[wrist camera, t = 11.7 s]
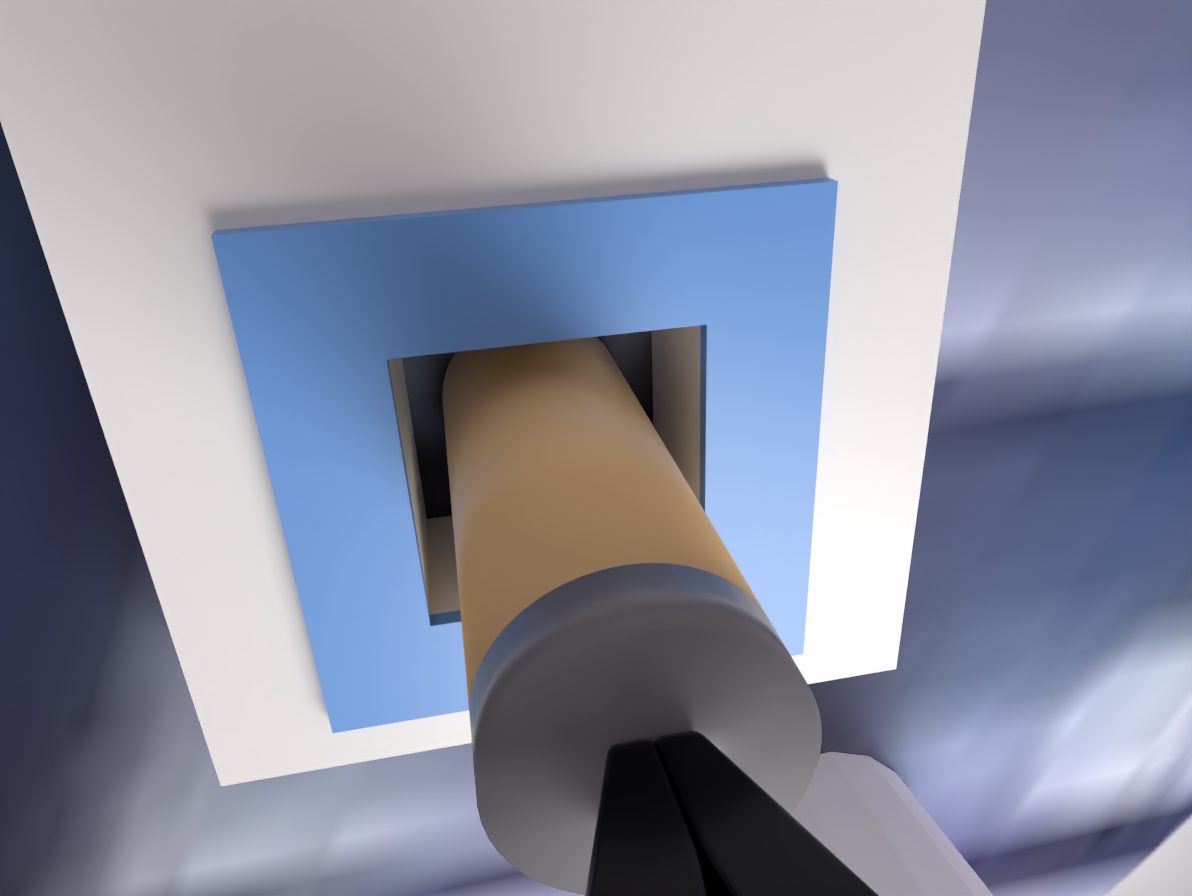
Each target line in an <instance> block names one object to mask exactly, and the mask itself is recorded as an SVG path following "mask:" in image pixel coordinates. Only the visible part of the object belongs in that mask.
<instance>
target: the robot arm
mask: <svg viewBox="0 0 1192 896" xmlns="http://www.w3.org/2000/svg"><path fill="white" fill-rule="evenodd" d="M585 896H879V895H878V894H877V893H876V892H874V891H873V890H872V889H871V888H870V887H869V886H868V885H867V884H866V883H865V882H864V881H862V880H861V879H860V878H859V877H858V876H857V875H856V874H855V873H854V872H853V871H852V870H850V869H849V868H848V867H847V866H846V865H845V864H844V863H843V862H842V861H841V860H840V859H838V858H837V857H836V856H835V855H834V854H833V853H832V852H831V851H830V850H829V849H828V848H826V847H825V846H824V845H823V844H822V843H821V842H820V841H819V840H818V839H817V838H816V837H814V836H813V835H812V834H811V833H810V832H809V831H808V830H807V829H806V828H805V827H803V826H802V825H801V824H800V823H799V822H798V821H797V820H796V819H795V818H794V817H793V816H791V815H790V814H789V813H788V812H787V811H786V810H785V809H784V808H783V807H782V806H781V805H779V804H778V803H777V802H776V801H775V800H774V799H773V798H772V797H771V796H770V795H769V794H767V793H766V792H765V791H764V790H763V789H762V788H761V787H760V786H759V785H758V784H757V783H755V782H754V781H753V780H752V779H751V778H750V777H749V776H748V775H747V774H746V773H745V772H743V771H742V770H741V769H740V768H739V767H738V766H737V765H736V764H735V763H734V762H733V761H731V760H730V759H729V758H728V757H727V756H726V755H725V754H724V753H723V752H722V751H721V750H719V749H718V748H717V747H716V746H715V745H714V744H713V743H712V742H711V741H710V740H709V739H707V738H706V737H705V736H704V735H703V734H701V733H699V732H697V731H689V732H683V733H678V734H672V735H666V736H661V737H659V738H658V739H657V740H656V741H655V743H653V742H652V741H651V740H648V739H644V740H638V741H632V742H627V743H621V744H616V745H613V746H611V747H610V748H609V750H608V753H607V758H606V764H605V771H604V777H603V784H602V790H601V797H600V803H599V810H598V816H597V823H596V829H595V835H594V842H593V848H592V855H591V861H590V868H589V874H588V881H587V887H586V893H585Z"/></svg>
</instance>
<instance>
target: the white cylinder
mask: <svg viewBox="0 0 1192 896" xmlns="http://www.w3.org/2000/svg"><path fill="white" fill-rule="evenodd" d="M790 815H791V816H793V817H794V818H795V819H796V820H797V821H798V822H799V823H800V824H801V825H802V826H803V827H805V828H806V829H807V830H808V831H809V832H810V833H811V834H812V835H813V836H814V837H816V838H817V839H818V840H819V841H820V842H821V843H822V844H823V845H824V846H825V847H826V848H828V849H829V850H830V851H831V852H832V853H833V854H834V855H835V856H836V857H837V858H838V859H840V860H841V861H842V862H843V863H844V864H845V865H846V866H847V867H848V868H849V869H850V870H852V871H853V872H854V873H855V874H856V875H857V876H858V877H859V878H860V879H861V880H862V881H864V882H865V883H866V884H867V885H868V886H869V887H870V888H871V889H872V890H873V891H874V892H876V893H877V894H878V895H879V896H993V895H992V893H991V892H990V891H989V890H988V888H987V887H986V886H985V884H984V883H983V882H982V881H981V879H980V878H979V877H978V876H977V874H976V873H975V872H974V871H973V869H972V868H971V867H970V866H969V864H968V863H967V862H966V860H965V859H964V858H963V857H962V855H961V854H960V853H959V852H958V850H957V849H956V848H955V847H954V845H953V844H952V843H951V842H950V840H949V839H948V838H947V837H946V835H945V834H944V833H943V831H942V830H941V829H940V828H939V826H938V825H937V824H936V823H935V821H934V820H933V819H932V818H931V816H930V815H929V814H928V813H927V811H926V810H925V809H924V807H923V806H922V805H921V804H920V802H919V801H918V800H917V799H916V797H915V796H914V795H913V794H912V792H911V791H910V790H909V789H908V787H907V786H906V785H905V784H904V782H903V781H902V780H901V778H900V777H899V776H898V775H897V773H896V772H894V771H893V770H891V769H889V768H888V767H886V766H884V765H883V764H881V763H880V762H878V761H876V760H875V759H873V758H871V757H870V756H865V755H856V754H848V753H839V752H826V753H822V754H820V756H819V760H818V763H817V766H816V769H815V773H814V776H813V778H812V780H811V782H810V784H809V786H808V788H807V790H806V792H805V794H804V795H803V797H802V798H801V800H800V801H799V803H798V804H797V806H796V807H795V809H794V810H793V811H792V812H791V814H790Z"/></svg>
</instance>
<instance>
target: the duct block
mask: <svg viewBox="0 0 1192 896" xmlns="http://www.w3.org/2000/svg"><path fill="white" fill-rule="evenodd" d="M985 4H986V0H0V122H1V125H2V128H3V131H4V134H5V137H6V140H7V143H8V146H9V149H10V152H11V155H12V158H13V161H14V164H15V167H16V170H17V173H18V176H19V179H20V182H21V185H22V188H23V191H24V194H25V197H26V200H27V203H28V206H29V209H30V212H31V215H32V218H33V221H34V224H35V227H36V230H37V233H38V236H39V239H40V243H41V246H42V249H43V252H44V255H45V258H46V261H47V264H48V267H49V270H50V273H51V276H52V279H53V282H54V285H55V288H56V291H57V294H58V297H59V300H60V303H61V306H62V309H63V312H64V315H65V318H66V321H67V324H68V327H69V330H70V333H71V336H72V339H73V342H74V345H75V348H76V351H77V354H78V357H79V360H80V363H81V366H82V369H83V372H84V375H85V378H86V381H87V384H88V387H89V390H90V393H91V396H92V399H93V402H94V405H95V408H96V411H97V414H98V417H99V420H100V423H101V426H102V429H103V432H104V435H105V438H106V441H107V444H108V447H109V450H110V453H111V456H112V459H113V462H114V465H115V468H116V471H117V474H118V477H119V480H120V483H121V486H122V489H123V492H124V495H125V498H126V501H127V504H128V507H129V510H130V513H131V516H132V519H133V522H134V526H135V529H136V532H137V535H138V538H139V541H140V544H141V547H142V550H143V553H144V556H145V559H146V562H147V565H148V568H149V571H150V574H151V577H152V580H153V583H154V586H155V589H156V592H157V595H158V598H159V601H160V604H161V607H162V610H163V613H164V616H165V619H166V622H167V625H168V628H169V631H170V634H171V637H172V640H173V643H174V646H175V649H176V652H177V655H178V658H179V661H180V664H181V667H182V670H183V673H184V676H185V679H186V682H187V685H188V688H189V691H190V694H191V697H192V700H193V703H194V706H195V709H196V712H197V715H198V718H199V721H200V724H201V727H202V730H203V733H204V736H205V739H206V742H207V745H208V748H209V751H210V754H211V757H212V760H213V763H214V766H215V769H216V772H217V775H218V778H219V781H220V784H221V786H226V785H232V784H237V783H243V782H249V781H255V780H260V779H266V778H272V777H278V776H283V775H289V774H295V773H301V772H306V771H312V770H318V769H324V768H329V767H335V766H341V765H347V764H352V763H358V762H364V761H370V760H375V759H381V758H387V757H393V756H398V755H404V754H410V753H416V752H421V751H427V750H433V749H439V748H444V747H450V746H456V745H462V744H467V743H472V739H471V727H470V716H469V704H468V693H467V681H466V669H465V658H464V646H463V635H462V623H461V611H460V600H459V588H458V577H457V565H456V553H455V542H454V530H453V519H452V516H444V517H437V518H430V519H427V515H426V509H425V503H424V496H423V490H422V483H421V477H420V471H419V464H418V458H417V452H416V445H415V439H414V432H413V426H412V420H411V413H410V407H409V400H408V394H407V388H406V381H405V375H404V369H403V362H402V358H405V357H414V356H423V355H432V354H442V353H451V352H460V351H469V350H478V349H487V348H497V347H506V346H515V345H524V344H533V343H542V342H552V341H561V340H570V339H579V338H588V337H597V336H606V335H616V334H625V333H634V332H643V331H651V335H652V383H653V426H654V428H655V430H656V431H657V433H658V435H659V436H660V438H661V440H662V441H663V443H664V445H665V446H666V448H667V450H668V451H669V453H670V455H671V456H672V458H673V460H674V461H675V463H676V465H677V466H678V468H679V470H680V471H681V473H682V475H683V476H684V478H685V480H686V481H687V483H688V485H689V486H690V488H691V490H692V491H693V493H694V495H695V496H696V498H697V500H698V501H699V503H700V505H701V506H702V508H703V510H704V511H705V513H706V515H707V516H708V518H709V520H710V521H711V523H712V525H713V526H714V528H715V530H716V532H717V533H718V535H719V537H720V538H721V540H722V542H723V543H724V545H725V547H726V548H727V550H728V552H729V553H730V555H731V557H732V558H733V560H734V562H735V563H736V565H737V567H738V568H739V570H740V572H741V573H742V575H743V577H744V578H745V580H746V582H747V583H748V585H749V587H750V588H751V590H752V592H753V593H754V595H755V597H756V598H757V600H758V602H759V603H760V605H761V607H762V608H763V610H764V612H765V613H766V615H767V617H768V618H769V620H770V622H771V623H772V625H773V627H774V628H775V630H776V632H777V633H778V635H779V637H780V638H781V640H782V642H783V644H784V645H785V647H786V649H787V650H788V652H789V654H790V655H791V657H792V659H793V660H794V662H795V664H796V665H797V667H798V669H799V670H800V672H801V674H802V675H803V677H804V679H805V680H806V682H807V684H812V683H818V682H824V681H830V680H835V679H841V678H847V677H853V676H858V675H864V674H870V673H876V672H881V671H887V670H893V669H896V665H897V658H898V651H899V643H900V636H901V628H902V621H903V613H904V606H905V599H906V591H907V584H908V576H909V569H910V561H911V554H912V547H913V539H914V532H915V524H916V517H917V509H918V502H919V495H920V487H921V480H922V472H923V465H924V457H925V450H926V443H927V435H928V428H929V420H930V413H931V405H932V398H933V391H934V383H935V376H936V368H937V361H938V353H939V346H940V339H941V331H942V324H943V316H944V309H945V301H946V294H947V287H948V279H949V272H950V264H951V257H952V249H953V242H954V235H955V227H956V220H957V212H958V205H959V197H960V190H961V183H962V175H963V168H964V160H965V153H966V145H967V138H968V131H969V123H970V116H971V108H972V101H973V94H974V86H975V79H976V71H977V64H978V56H979V49H980V42H981V34H982V27H983V19H984V12H985Z"/></svg>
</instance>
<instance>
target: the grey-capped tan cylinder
mask: <svg viewBox="0 0 1192 896" xmlns="http://www.w3.org/2000/svg"><path fill="white" fill-rule="evenodd" d="M442 402H443V414H444V426H445V438H446V449H447V461H448V472H449V484H450V496H451V507H452V519H453V530H454V542H455V553H456V565H457V577H458V588H459V600H460V611H461V623H462V635H463V646H464V658H465V669H466V681H467V693H468V704H469V716H470V727H471V739H472V750H473V762H474V774H475V785H476V797H477V807H478V811H479V815H480V819H481V823H482V825H483V827H484V830H485V832H486V834H487V836H488V838H489V840H490V841H491V842H492V844H493V845H494V847H495V848H496V850H497V851H498V852H499V853H500V854H501V855H502V856H503V857H504V858H505V859H506V860H507V861H508V862H509V863H510V864H511V865H512V866H514V867H515V868H517V869H518V870H519V871H521V872H522V873H523V874H525V875H527V876H529V877H531V878H533V879H535V880H536V881H538V882H540V883H543V884H546V885H548V886H551V887H554V888H557V889H560V890H564V891H568V892H573V893H577V894H585V893H586V887H587V881H588V874H589V868H590V861H591V855H592V848H593V842H594V835H595V829H596V823H597V816H598V810H599V803H600V797H601V790H602V784H603V777H604V771H605V764H606V758H607V753H608V750H609V748H610V747H611V746H613V745H616V744H621V743H627V742H632V741H638V740H644V739H648V740H651V741H652V742H653V743H655V741H656V740H657V739H658V738H659V737H661V736H666V735H672V734H678V733H683V732H689V731H697V732H699V733H701V734H703V735H704V736H705V737H706V738H707V739H709V740H710V741H711V742H712V743H713V744H714V745H715V746H716V747H717V748H718V749H719V750H721V751H722V752H723V753H724V754H725V755H726V756H727V757H728V758H729V759H730V760H731V761H733V762H734V763H735V764H736V765H737V766H738V767H739V768H740V769H741V770H742V771H743V772H745V773H746V774H747V775H748V776H749V777H750V778H751V779H752V780H753V781H754V782H755V783H757V784H758V785H759V786H760V787H761V788H762V789H763V790H764V791H765V792H766V793H767V794H769V795H770V796H771V797H772V798H773V799H774V800H775V801H776V802H777V803H778V804H779V805H781V806H782V807H783V808H784V809H785V810H786V811H787V812H788V813H789V814H791V812H792V811H793V810H794V809H795V807H796V806H797V804H798V803H799V801H800V800H801V798H802V797H803V795H804V794H805V792H806V790H807V788H808V786H809V784H810V782H811V780H812V778H813V776H814V773H815V769H816V766H817V763H818V760H819V756H820V750H821V744H822V723H821V717H820V711H819V708H818V705H817V702H816V699H815V697H814V694H813V692H812V691H811V689H810V687H809V685H808V684H807V682H806V680H805V679H804V677H803V675H802V674H801V672H800V670H799V669H798V667H797V665H796V664H795V662H794V660H793V659H792V657H791V655H790V654H789V652H788V650H787V649H786V647H785V645H784V644H783V642H782V640H781V638H780V637H779V635H778V633H777V632H776V630H775V628H774V627H773V625H772V623H771V622H770V620H769V618H768V617H767V615H766V613H765V612H764V610H763V608H762V607H761V605H760V603H759V602H758V600H757V598H756V597H755V595H754V593H753V592H752V590H751V588H750V587H749V585H748V583H747V582H746V580H745V578H744V577H743V575H742V573H741V572H740V570H739V568H738V567H737V565H736V563H735V562H734V560H733V558H732V557H731V555H730V553H729V552H728V550H727V548H726V547H725V545H724V543H723V542H722V540H721V538H720V537H719V535H718V533H717V532H716V530H715V528H714V526H713V525H712V523H711V521H710V520H709V518H708V516H707V515H706V513H705V511H704V510H703V508H702V506H701V505H700V503H699V501H698V500H697V498H696V496H695V495H694V493H693V491H692V490H691V488H690V486H689V485H688V483H687V481H686V480H685V478H684V476H683V475H682V473H681V471H680V470H679V468H678V466H677V465H676V463H675V461H674V460H673V458H672V456H671V455H670V453H669V451H668V450H667V448H666V446H665V445H664V443H663V441H662V440H661V438H660V436H659V435H658V433H657V431H656V430H655V428H654V426H653V425H652V423H651V421H650V419H649V418H648V416H647V414H646V413H645V411H644V409H643V408H642V406H641V404H640V403H639V401H638V399H637V398H636V396H635V394H634V393H633V391H632V389H631V388H630V386H629V384H628V383H627V381H626V379H625V378H624V376H623V374H622V373H621V371H620V369H619V368H618V366H617V364H616V363H615V361H614V359H613V358H612V356H611V354H610V353H609V351H608V349H607V348H606V346H605V345H604V343H603V342H602V341H601V340H600V338H599V337H598V336H597V337H588V338H579V339H570V340H561V341H552V342H542V343H533V344H524V345H515V346H506V347H497V348H487V349H478V350H469V351H460V352H455V353H454V355H453V357H452V359H451V361H450V363H449V365H448V368H447V370H446V373H445V377H444V382H443V390H442Z"/></svg>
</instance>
